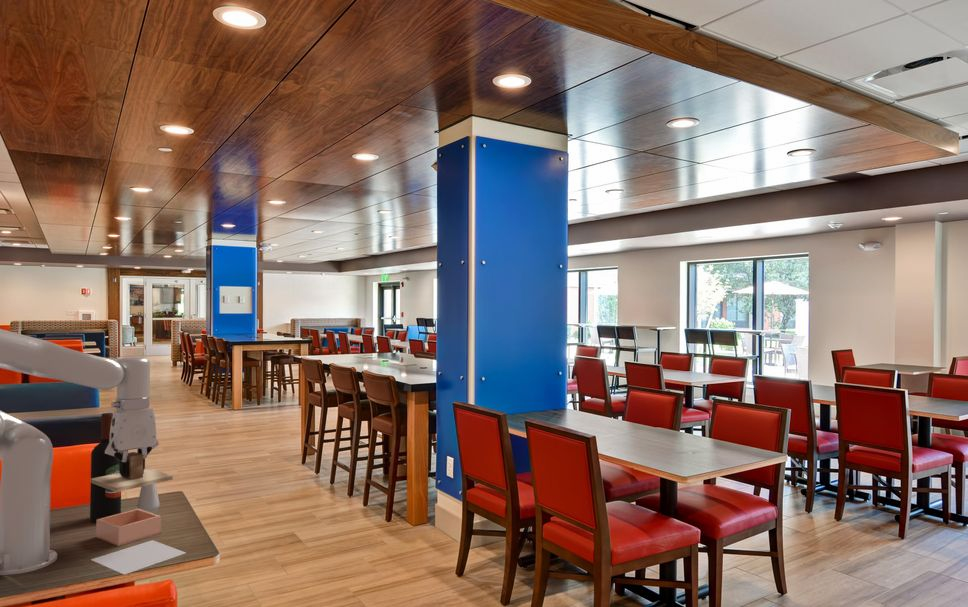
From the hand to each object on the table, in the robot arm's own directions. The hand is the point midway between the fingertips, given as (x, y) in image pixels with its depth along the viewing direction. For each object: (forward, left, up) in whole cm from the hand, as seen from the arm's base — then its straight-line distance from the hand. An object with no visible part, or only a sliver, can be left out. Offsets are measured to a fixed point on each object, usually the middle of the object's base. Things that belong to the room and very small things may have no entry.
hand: (132, 474), depth 161 cm
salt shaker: (+14, +17, -17) cm, 28 cm away
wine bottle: (+5, +23, -17) cm, 29 cm away
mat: (-5, -13, -17) cm, 22 cm away
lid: (0, 0, -2) cm, 2 cm away
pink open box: (+1, +3, -17) cm, 17 cm away
